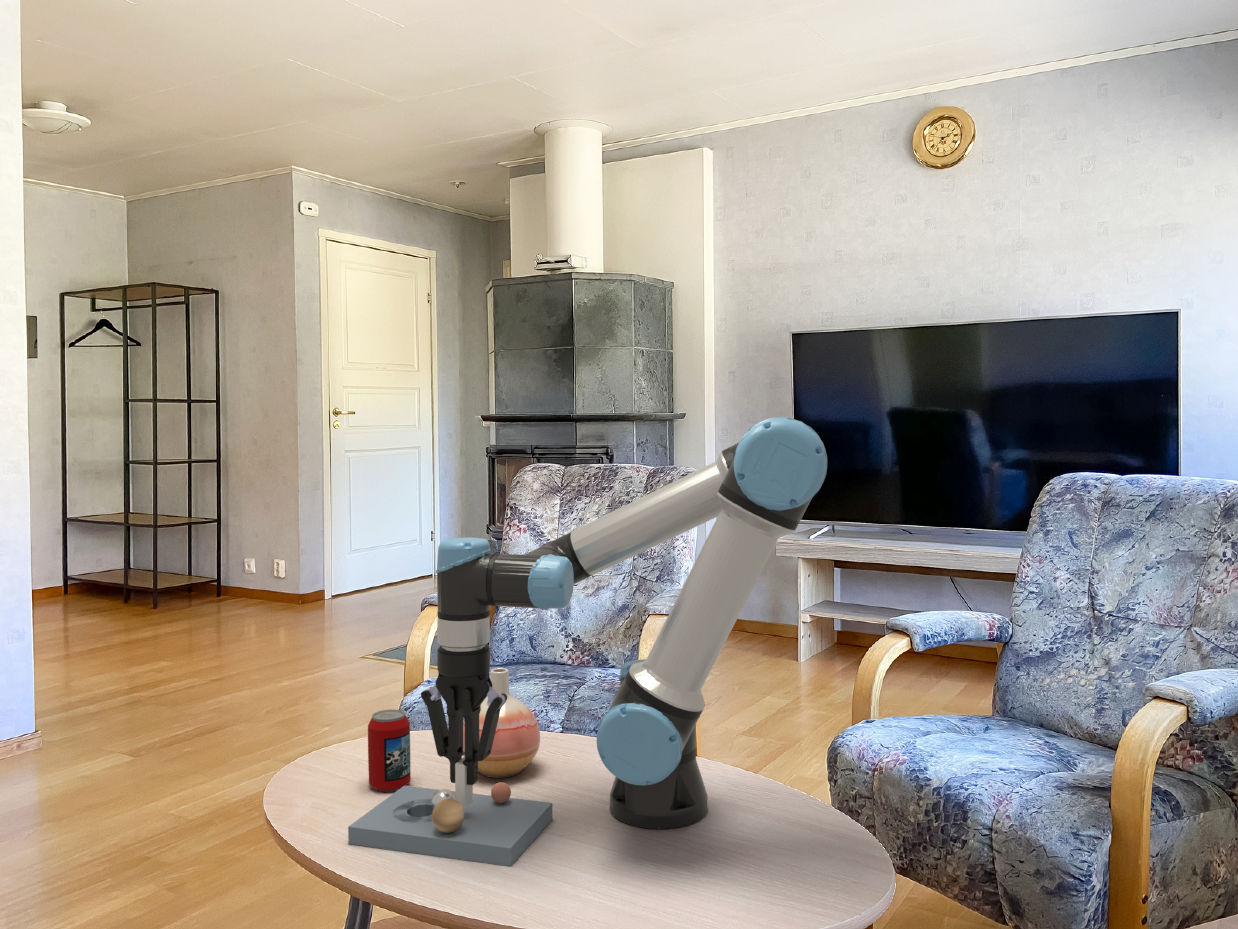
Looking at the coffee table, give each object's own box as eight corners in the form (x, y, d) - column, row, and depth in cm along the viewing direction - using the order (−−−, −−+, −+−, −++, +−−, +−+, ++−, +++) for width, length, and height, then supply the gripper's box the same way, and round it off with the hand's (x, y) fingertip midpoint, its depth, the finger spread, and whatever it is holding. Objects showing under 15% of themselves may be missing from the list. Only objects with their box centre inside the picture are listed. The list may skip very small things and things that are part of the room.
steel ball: (435, 800, 144) (454, 813, 143) (423, 809, 141) (443, 822, 140) (444, 781, 144) (463, 793, 143) (433, 789, 140) (452, 802, 139)
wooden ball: (469, 827, 137) (469, 795, 137) (455, 840, 133) (455, 808, 133) (441, 823, 138) (440, 792, 138) (426, 836, 134) (425, 804, 134)
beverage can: (400, 795, 155) (399, 721, 155) (361, 792, 156) (360, 719, 156) (417, 780, 162) (416, 709, 161) (379, 777, 163) (378, 707, 163)
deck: (552, 819, 146) (552, 802, 145) (510, 866, 130) (510, 848, 130) (404, 801, 153) (404, 785, 153) (348, 844, 137) (348, 826, 137)
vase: (498, 752, 175) (497, 656, 174) (556, 768, 167) (555, 667, 166) (443, 775, 164) (441, 672, 163) (503, 793, 156) (501, 685, 155)
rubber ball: (514, 799, 147) (514, 780, 147) (506, 807, 144) (506, 787, 144) (496, 797, 148) (495, 778, 147) (487, 805, 145) (487, 785, 145)
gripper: (515, 642, 141) (515, 800, 142) (435, 636, 145) (435, 790, 146) (494, 654, 134) (494, 820, 135) (410, 647, 138) (411, 809, 139)
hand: (464, 804), depth 141 cm, fingers closed
